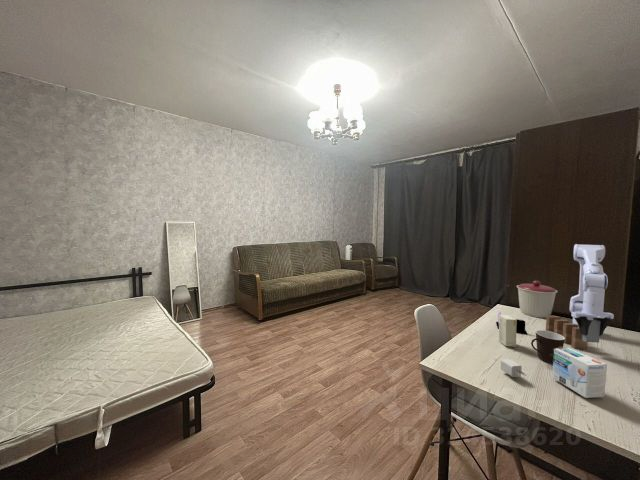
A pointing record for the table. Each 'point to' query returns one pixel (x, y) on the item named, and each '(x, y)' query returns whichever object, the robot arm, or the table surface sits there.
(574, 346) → the domino
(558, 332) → the domino
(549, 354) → the coffee mug
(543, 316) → the canister
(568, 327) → the domino
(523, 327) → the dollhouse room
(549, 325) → the domino
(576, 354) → the light bulb box
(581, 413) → the table surface
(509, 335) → the skincare box
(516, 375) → the usb wall charger
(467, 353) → the table surface
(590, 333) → the domino
